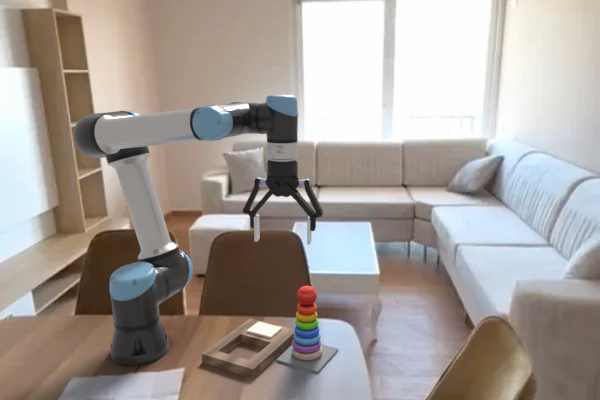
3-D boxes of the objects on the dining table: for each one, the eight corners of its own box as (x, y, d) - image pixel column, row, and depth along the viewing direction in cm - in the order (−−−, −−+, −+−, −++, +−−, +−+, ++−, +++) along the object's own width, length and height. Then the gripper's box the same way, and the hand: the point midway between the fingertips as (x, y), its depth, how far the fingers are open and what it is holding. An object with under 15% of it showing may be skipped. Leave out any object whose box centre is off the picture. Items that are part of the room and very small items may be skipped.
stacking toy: (319, 363, 125) (318, 294, 121) (288, 360, 127) (286, 292, 123) (324, 347, 133) (323, 282, 128) (295, 345, 134) (293, 280, 130)
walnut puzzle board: (202, 362, 128) (201, 351, 127) (250, 326, 147) (250, 316, 146) (253, 378, 120) (252, 367, 120) (297, 338, 139) (297, 328, 138)
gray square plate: (276, 361, 128) (276, 359, 127) (298, 340, 138) (298, 338, 138) (317, 373, 122) (317, 371, 122) (338, 350, 132) (338, 348, 132)
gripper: (228, 160, 120) (231, 243, 125) (331, 162, 116) (330, 248, 121) (237, 155, 127) (239, 234, 132) (334, 158, 123) (333, 239, 128)
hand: (282, 241), depth 126 cm, fingers open, 13 cm apart
